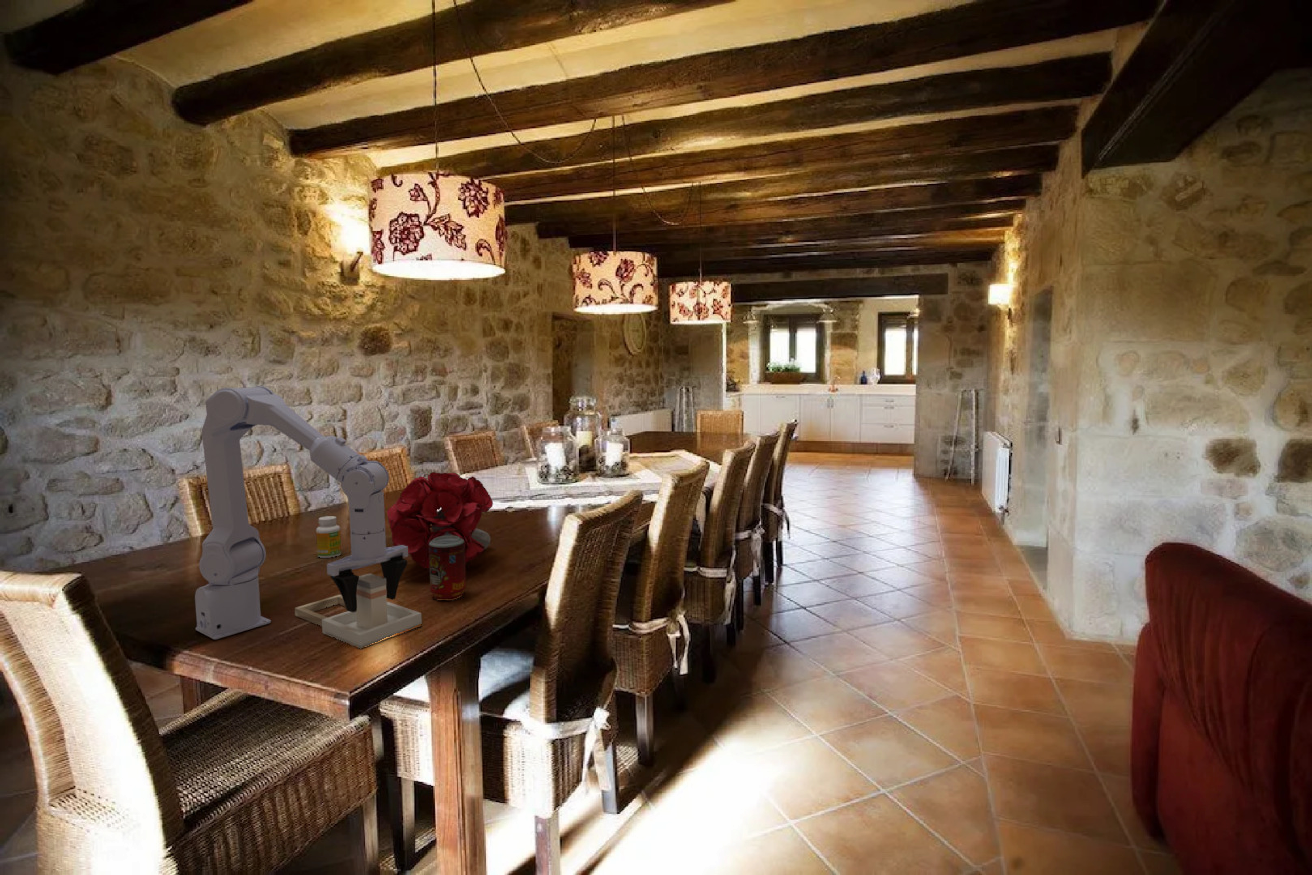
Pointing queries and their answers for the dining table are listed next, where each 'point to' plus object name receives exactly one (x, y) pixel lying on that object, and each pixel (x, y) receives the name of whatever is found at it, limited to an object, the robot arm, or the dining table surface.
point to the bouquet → (440, 514)
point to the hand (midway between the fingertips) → (371, 604)
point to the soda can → (447, 567)
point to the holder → (308, 609)
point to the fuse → (371, 601)
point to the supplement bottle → (328, 537)
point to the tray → (350, 633)
